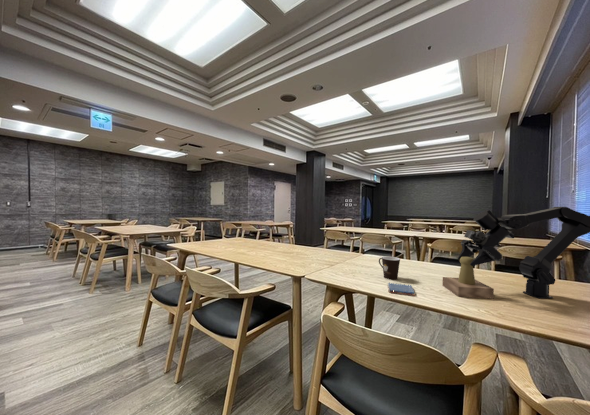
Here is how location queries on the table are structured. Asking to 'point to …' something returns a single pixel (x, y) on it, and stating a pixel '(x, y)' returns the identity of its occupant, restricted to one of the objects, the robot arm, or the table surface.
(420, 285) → the table surface
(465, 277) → the cork
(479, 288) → the walnut block
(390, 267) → the coffee mug
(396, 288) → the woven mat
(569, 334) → the table surface
